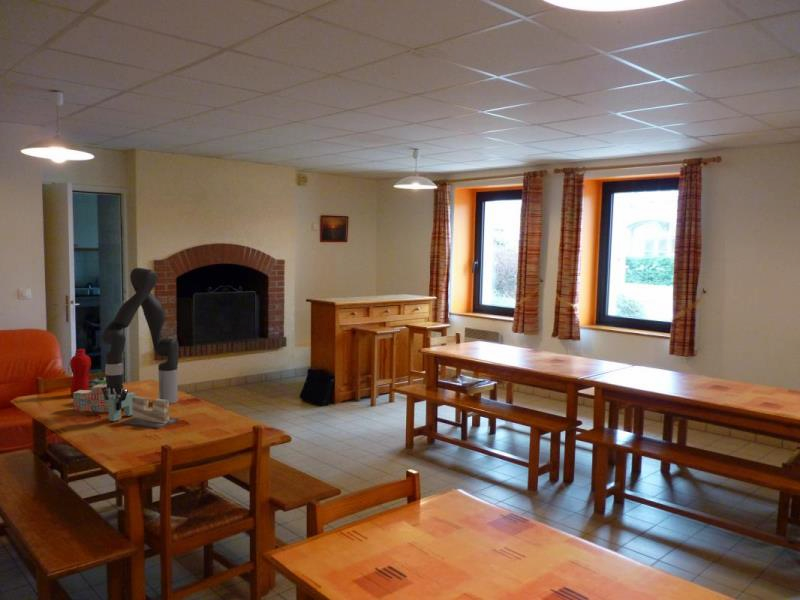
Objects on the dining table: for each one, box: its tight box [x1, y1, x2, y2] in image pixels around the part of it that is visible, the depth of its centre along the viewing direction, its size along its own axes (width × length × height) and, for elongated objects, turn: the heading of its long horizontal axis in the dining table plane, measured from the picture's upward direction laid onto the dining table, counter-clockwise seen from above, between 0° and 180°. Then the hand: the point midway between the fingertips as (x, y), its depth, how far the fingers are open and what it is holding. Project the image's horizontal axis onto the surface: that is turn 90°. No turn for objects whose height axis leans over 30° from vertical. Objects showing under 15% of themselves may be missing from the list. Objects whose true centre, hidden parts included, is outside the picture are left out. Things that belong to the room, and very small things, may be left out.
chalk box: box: [88, 372, 107, 390], centre depth 320 cm, size 9×9×15 cm
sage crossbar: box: [108, 391, 137, 422], centre depth 290 cm, size 14×3×10 cm, turn 161°
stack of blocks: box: [72, 385, 123, 413], centre depth 303 cm, size 21×6×12 cm, turn 89°
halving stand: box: [121, 395, 180, 430], centre depth 285 cm, size 14×20×11 cm
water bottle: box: [67, 348, 92, 397], centre depth 331 cm, size 9×11×25 cm
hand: (115, 409), depth 286 cm, fingers closed on sage crossbar, 3 cm apart
